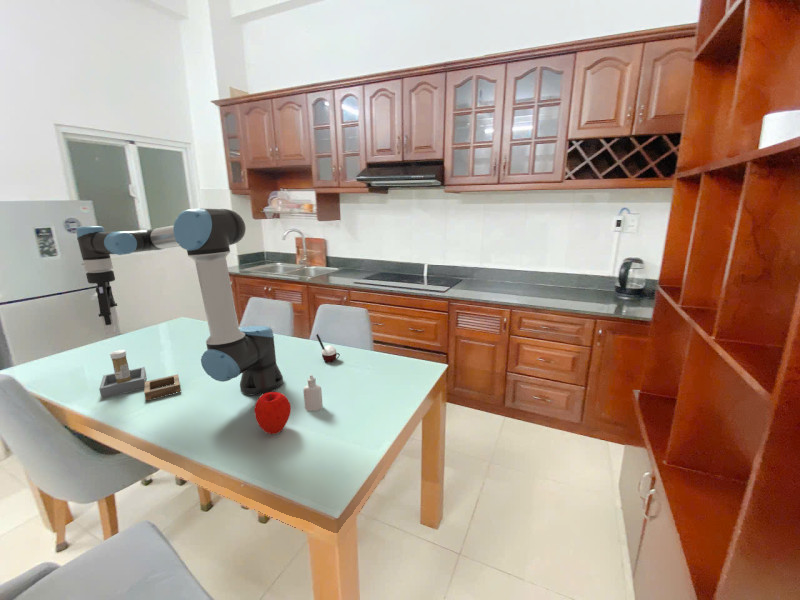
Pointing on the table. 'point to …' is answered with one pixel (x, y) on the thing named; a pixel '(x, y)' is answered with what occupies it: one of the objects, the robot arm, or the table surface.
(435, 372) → the table surface
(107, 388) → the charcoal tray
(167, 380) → the walnut collar
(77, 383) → the table surface
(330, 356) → the cocoa
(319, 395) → the eye dropper bottle
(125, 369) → the sprinkles bottle
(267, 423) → the apple
